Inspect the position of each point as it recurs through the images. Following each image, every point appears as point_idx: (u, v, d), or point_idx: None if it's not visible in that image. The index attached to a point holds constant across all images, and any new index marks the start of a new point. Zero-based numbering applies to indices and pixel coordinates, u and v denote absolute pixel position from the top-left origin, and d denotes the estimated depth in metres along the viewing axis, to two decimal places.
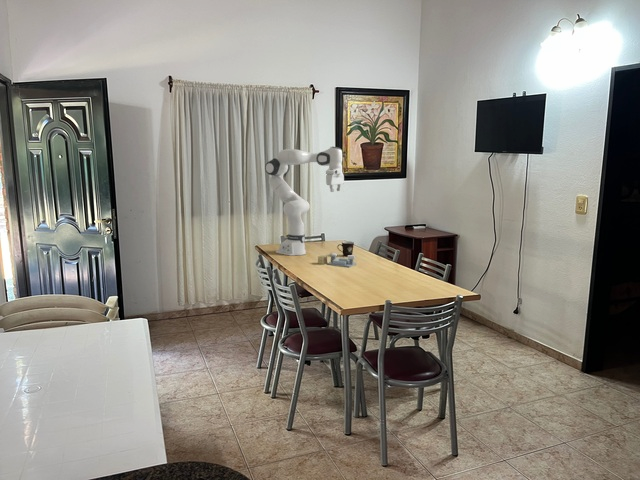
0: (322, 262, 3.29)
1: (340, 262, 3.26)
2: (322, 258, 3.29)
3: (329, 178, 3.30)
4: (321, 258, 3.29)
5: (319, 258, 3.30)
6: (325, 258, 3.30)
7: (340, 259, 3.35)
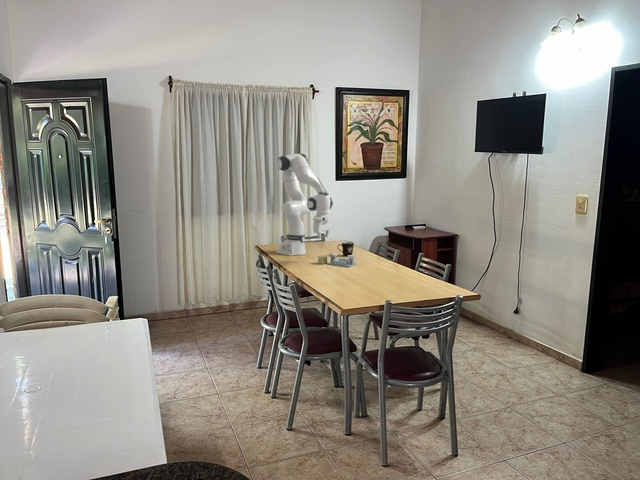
0: (322, 262, 3.29)
1: (340, 262, 3.26)
2: (322, 258, 3.29)
3: (317, 226, 3.19)
4: (321, 258, 3.29)
5: (319, 258, 3.30)
6: (325, 258, 3.30)
7: (340, 259, 3.35)
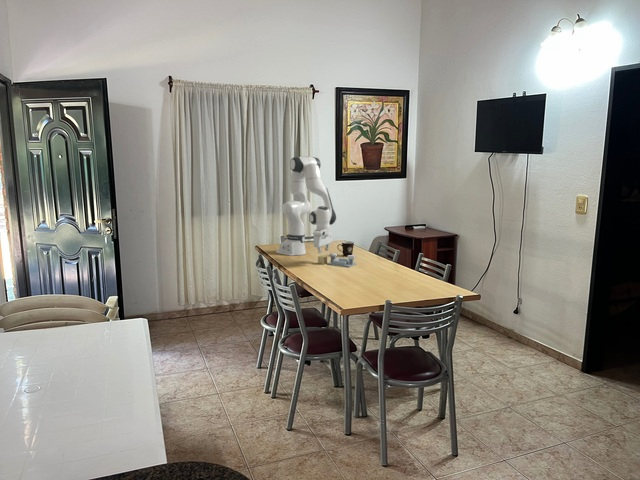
0: (322, 262, 3.29)
1: (340, 262, 3.26)
2: (322, 258, 3.29)
3: (317, 240, 3.20)
4: (321, 258, 3.29)
5: (319, 258, 3.30)
6: (325, 258, 3.30)
7: (340, 259, 3.35)
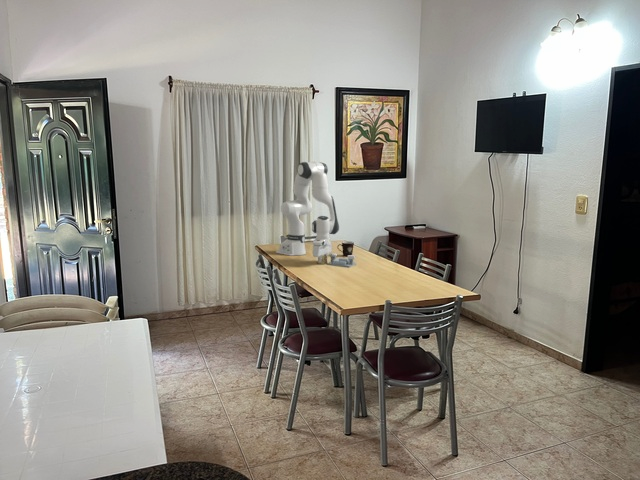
0: (322, 262, 3.29)
1: (340, 262, 3.26)
2: (322, 258, 3.29)
3: (316, 250, 3.21)
4: (321, 258, 3.29)
5: None
6: (325, 258, 3.30)
7: (340, 259, 3.35)
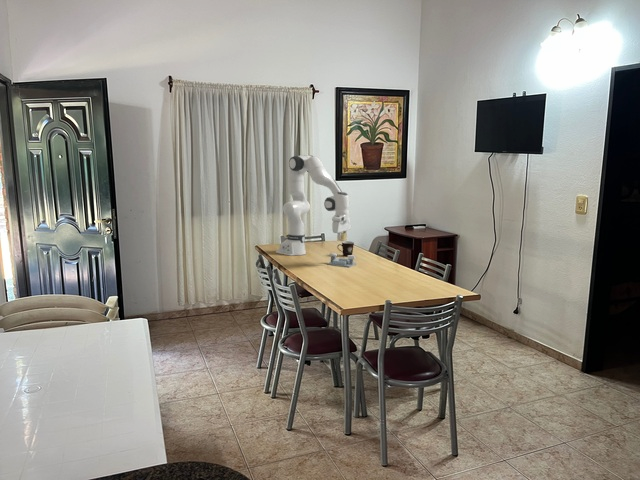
0: (342, 238, 3.25)
1: (340, 262, 3.26)
2: (342, 234, 3.24)
3: (336, 226, 3.17)
4: (341, 234, 3.25)
5: None
6: (345, 234, 3.26)
7: (340, 259, 3.35)
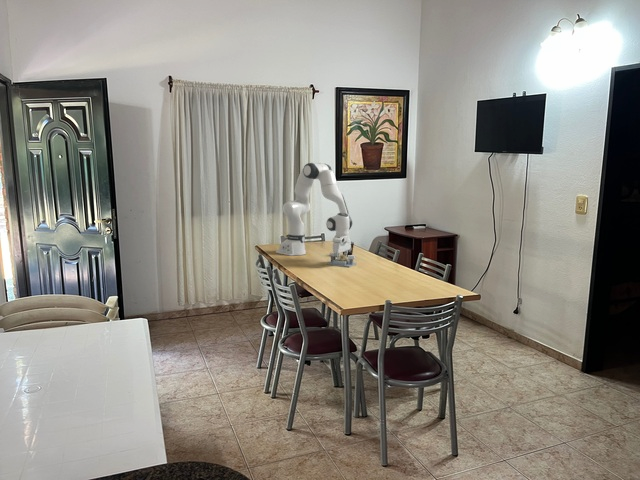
0: None
1: (340, 262, 3.26)
2: (342, 257, 3.27)
3: (336, 247, 3.20)
4: (341, 257, 3.28)
5: None
6: (345, 257, 3.29)
7: None
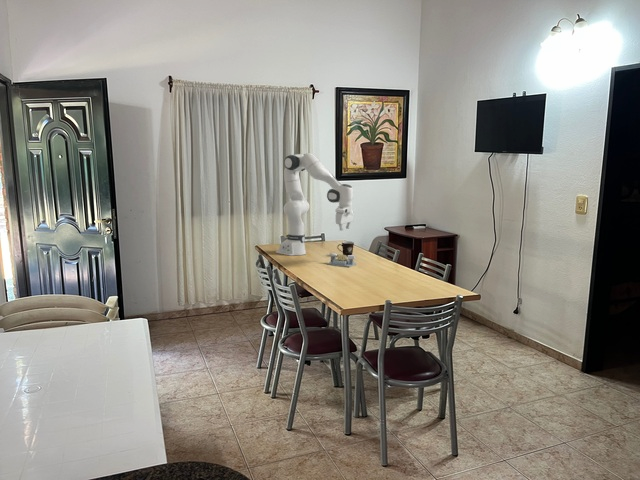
0: None
1: (340, 262, 3.26)
2: (342, 257, 3.27)
3: (339, 217, 3.22)
4: (341, 257, 3.28)
5: (339, 257, 3.28)
6: (345, 257, 3.29)
7: None
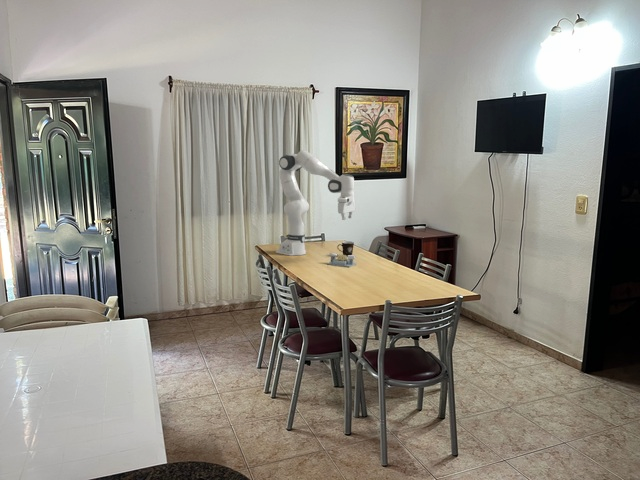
0: None
1: (340, 262, 3.26)
2: (342, 257, 3.27)
3: (341, 206, 3.25)
4: (341, 257, 3.28)
5: (339, 257, 3.28)
6: (345, 257, 3.29)
7: None
